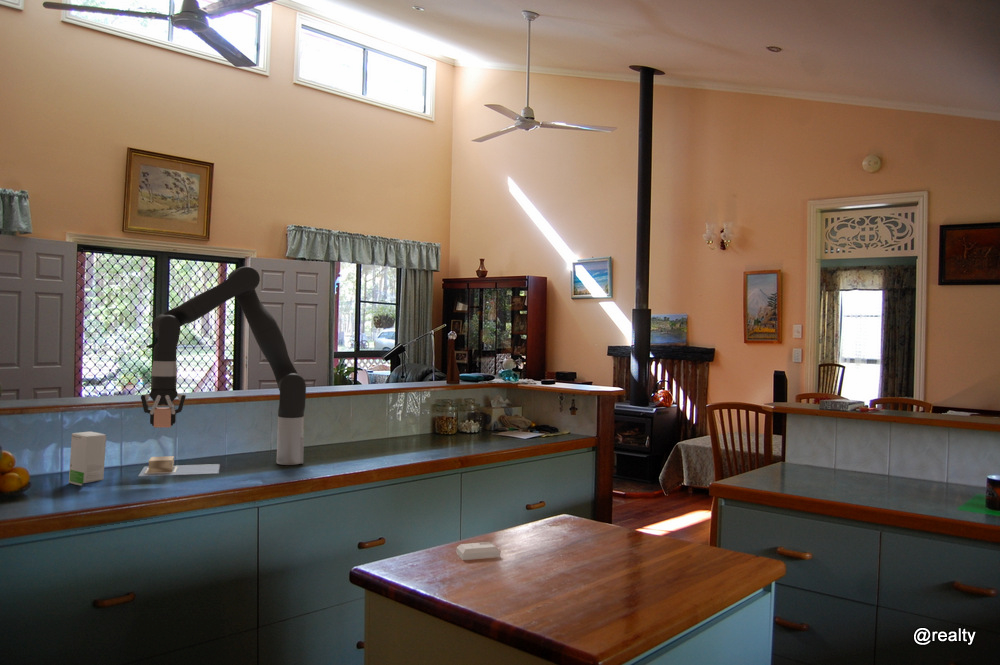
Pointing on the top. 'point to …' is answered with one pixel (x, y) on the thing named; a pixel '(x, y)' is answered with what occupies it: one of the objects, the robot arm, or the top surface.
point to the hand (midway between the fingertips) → (162, 425)
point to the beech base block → (161, 464)
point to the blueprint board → (185, 470)
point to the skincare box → (87, 457)
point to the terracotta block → (162, 417)
